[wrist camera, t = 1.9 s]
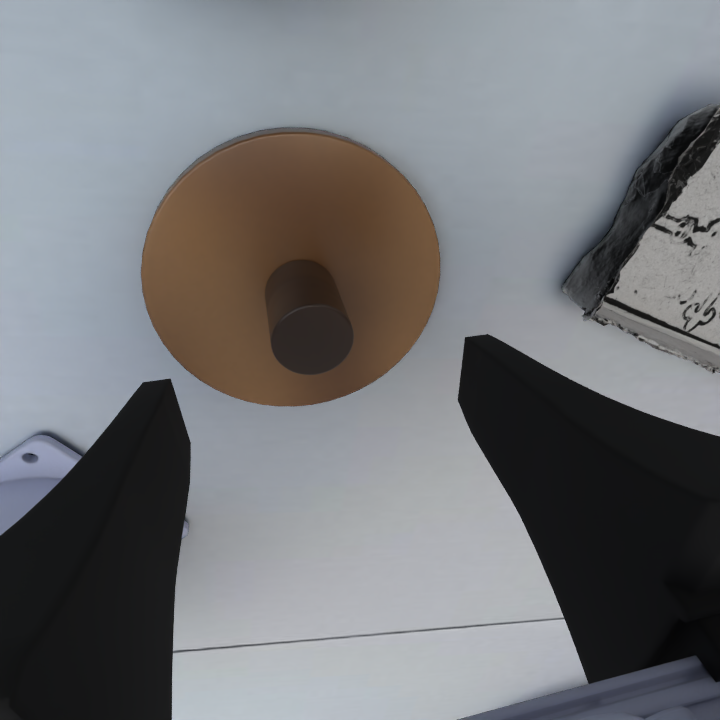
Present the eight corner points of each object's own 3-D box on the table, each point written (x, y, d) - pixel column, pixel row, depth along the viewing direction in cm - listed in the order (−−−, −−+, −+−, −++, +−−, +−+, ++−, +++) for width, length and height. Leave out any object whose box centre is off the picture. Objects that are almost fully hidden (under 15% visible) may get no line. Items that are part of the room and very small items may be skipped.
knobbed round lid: (271, 433, 21) (278, 508, 18) (71, 253, 15) (27, 316, 12) (474, 304, 19) (523, 360, 16) (339, 51, 14) (373, 58, 10)
